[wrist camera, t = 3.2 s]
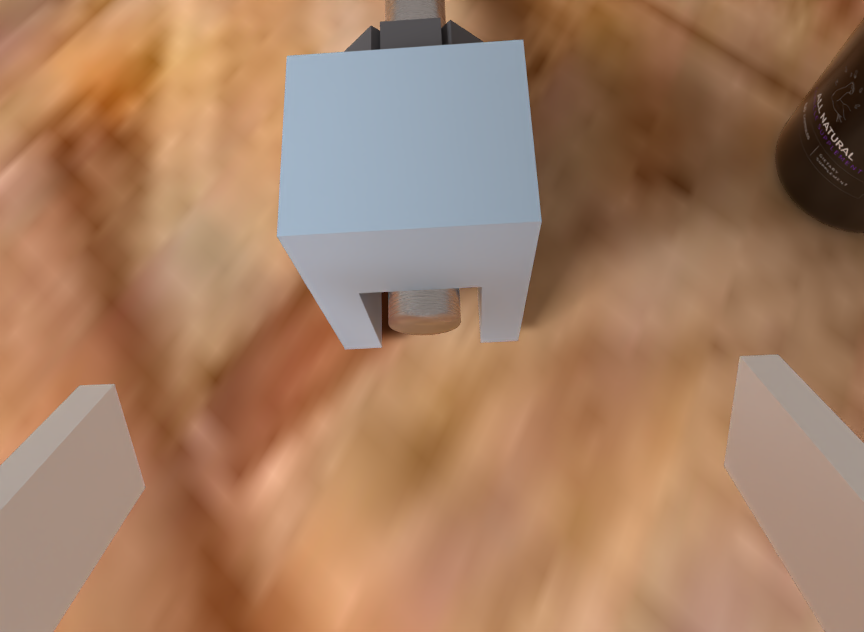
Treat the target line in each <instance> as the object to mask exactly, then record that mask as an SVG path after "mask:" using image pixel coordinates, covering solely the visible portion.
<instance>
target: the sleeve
mask: <svg viewBox="0 0 864 632" xmlns="http://www.w3.org/2000/svg"><path fill="white" fill-rule="evenodd" d="M541 222H542V220H541V210H540V200H539V190H538V181H537V171H536V161H535V151H534V141H533V131H532V122H531V112H530V102H529V92H528V82H527V72H526V62H525V53H524V43H523V40H509V41H495V42H481V43H466V44H452V45H437V46H423V47H409V48H394V49H380V50H365V51H351V52H337V53H322V54H308V55H293V56H287V63H286V81H285V100H284V118H283V136H282V154H281V173H280V191H279V209H278V227H277V237H278V239H279V241H280V242H281V244H282V246H283V247H284V249H285V250H286V252H287V254H288V255H289V257H290V259H291V260H292V262H293V264H294V265H295V267H296V269H297V270H298V272H299V274H300V275H301V277H302V279H303V280H304V282H305V284H306V285H307V287H308V288H309V290H310V292H311V293H312V295H313V297H314V298H315V300H316V302H317V303H318V305H319V307H320V308H321V310H322V312H323V313H324V315H325V317H326V318H327V320H328V322H329V323H330V325H331V326H332V328H333V330H334V331H335V333H336V335H337V336H338V338H339V340H340V341H341V343H342V345H343V346H344V348H345V349H362V348H382V292H393V291H412V290H431V289H450V288H469V287H477V290H478V307H479V323H480V339H481V343H483V342H504V341H518V338H519V333H520V328H521V323H522V318H523V313H524V308H525V303H526V298H527V293H528V288H529V283H530V278H531V273H532V268H533V262H534V257H535V252H536V247H537V242H538V237H539V232H540V227H541Z"/></svg>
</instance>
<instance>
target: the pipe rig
mask: <svg viewBox="0 0 864 632" xmlns="http://www.w3.org/2000/svg"><path fill="white" fill-rule="evenodd" d="M440 17H441V28H442V27H443V26H444V25H445V24H446V19H445V0H385V21H398V20H412V19H426V18H440ZM460 323H461V315H460V295H459V288H450V289H431V290H412V291H393V292H388V324H389V327H390V328H391V329H393V330H395V331H397V332H400V333H405V334H411V335H433V334H440V333H444V332H448V331H451V330H453V329H455V328H457V327H458V326H459V325H460Z"/></svg>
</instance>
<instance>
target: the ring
mask: <svg viewBox="0 0 864 632" xmlns="http://www.w3.org/2000/svg"><path fill="white" fill-rule="evenodd" d="M481 42H483V41H481V40H480V39H478V38H477V37H475V36H474V35H472V34H471V33H469V32H468V31H466V30H465V29H463V28H462V27H460V26H459V25H457V24H456V23H454V22H453V21H451V20H450V21H449V22H447V23H446V24H445V25H444V26H443V27H442V28H441V17H440V18H426V19H412V20H398V21H384V22H380V31H379V30H378V29H376V28H374V27H373V26H370V27H369V28H368V29H367V30H366V31H365V32H364V33H363V34H362V35H361V36H360V37H359V38H358V39H357V40H356V41H355V42H354V43H353V44H352V45H351V46H350V47H348V48H347V49H346V50H345V51H344V52H351V51H365V50H380V49H394V48H409V47H423V46H437V45H452V44H466V43H481Z"/></svg>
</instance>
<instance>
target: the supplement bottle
mask: <svg viewBox="0 0 864 632" xmlns="http://www.w3.org/2000/svg"><path fill="white" fill-rule="evenodd" d="M775 160H776V168H777V172H778V176H779V179H780V181H781V183H782V185H783V187H784V189H785V191H786V192H787V194H788V195H789V196H790V198H791V199H792V200H793V201H794V202H795V203H796V205H797V206H798V207H800V208H801V209H802V210H803V211H804V212H806V213H807V214H808V215H810V216H811V217H813V218H814V219H816V220H818V221H820V222H821V223H824V224H826V225H828V226H831V227H834V228H836V229H840V230H844V231H848V232H855V233H864V18H863V20H862V21H861V22H860V24H859V25H858V26H857V28H856V29H855V30H854V32H853V33H852V35H851V36H850V37H849V39H848V40H847V41H846V43H845V44H844V45H843V47H842V48H841V49H840V51H839V52H838V53H837V55H836V56H835V57H834V59H833V60H832V61H831V63H830V64H829V66H828V67H827V68H826V70H825V71H824V72H823V74H822V75H821V76H820V78H819V79H818V80H817V82H816V83H815V84H814V86H813V87H812V88H811V90H810V91H809V93H808V94H807V95H806V97H805V98H804V99H803V101H802V102H801V103H800V105H799V106H798V107H797V109H796V110H795V112H794V113H793V115H792V116H791V117H790V119H789V120H788V122H787V123H786V125H785V126H784V128H783V130H782V132H781V134H780V136H779V139H778V142H777V146H776V154H775Z"/></svg>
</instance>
